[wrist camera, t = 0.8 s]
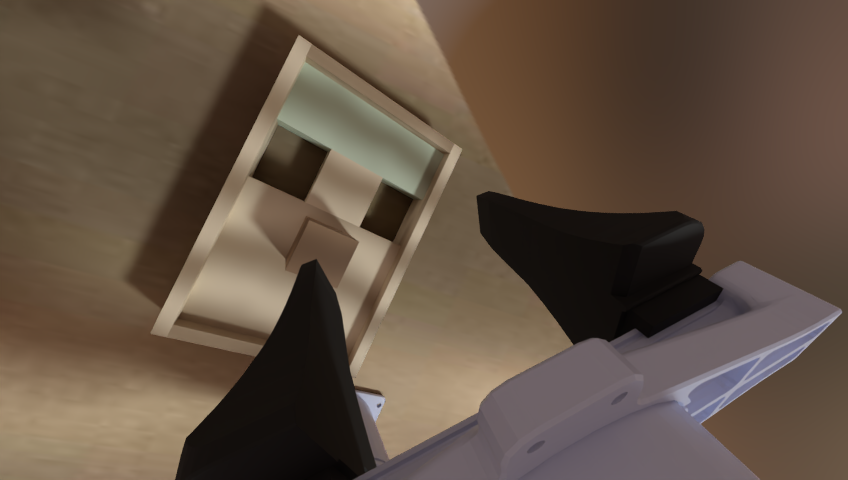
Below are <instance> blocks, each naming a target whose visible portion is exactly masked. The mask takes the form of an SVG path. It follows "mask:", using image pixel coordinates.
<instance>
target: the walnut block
mask: <svg viewBox="0 0 848 480" xmlns="http://www.w3.org/2000/svg"><path fill="white" fill-rule="evenodd" d="M358 244H359V241H357V240H356V239H355V238H353V237H352V236H351V235H349V234H347V233H344V232H342V231H340V230H338V229H335V228H333V227H331V226H328V225H326V224H324V223H322V222H319V221H317V220H315V219H313V218H310V217H308V216H306V217H305V219H304V221H303V223H302V225H301V227H300V230H299V232H298V234H297V236H296V238H295V240H294V242H293V244H292V246H291V248H290V250H289V252H288V254H287V256H286V258H285V271H288V272H291V273H294V274H297V275H298V272H299V269H300V267H301V265H302V264H305V263H307V262H310V261H312V260H315V259H317V260H318V262H319V264H320V266H321V267H322V269H323V271H324V273H325V275H326V276H327V278H328V280H329V282H330V284H331V285H332V287H334V288H338V286H339V283H340V281H341V279H342V277H343V275H344V273H345V271H346V269H347V267H348V265H349V262H350V260H351V258H352V256H353V254H354V252H355V250H356V248H357V246H358Z"/></svg>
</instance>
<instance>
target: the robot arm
mask: <svg viewBox="0 0 848 480" xmlns="http://www.w3.org/2000/svg"><path fill="white" fill-rule="evenodd" d="M477 205H478V214H479V224H480V233H481V234H482V236H483V237H484V238H485V240H486V241H487V243H488V244H489V245H490V246H491V248H492V249H493V250H494V251H495V252H496V253H497V254H498V255H499V256H500V257H501V258H502V259H503V260H504V261H505V262H506V263H507V264H508V265H509V266H510V267H511V268H512V269H513V270H514V271H515V272H516V273H517V274H518V275H519V276H520V277H521V278H522V279H523V280H524V281H525V282H526V283H527V284H528V285H529V286H530V287H531V289H532V290H533V291H534V292H535V294H536V295H537V296H538V297H539V299H540V300H541V301H542V302H543V304H544V305H545V306H546V307H547V309H548V310H549V311H550V313H551V314H552V315H553V317H554V318H555V319H556V321H557V322H558V323H559V325H560V326H561V328H562V329H563V330H564V332H565V333H566V335H567V336H568V337H569V339H570V340H571V342H572V343H573V346H571V347H569V348H567V349H566V350H564V351H562V352H560V353H558V354H556V355H554V356H552V357H550V358H548V359H546V360H545V361H543V362H541V363H539V364H537V365H535V366H533V367H531V368H529V369H527V370H525V371H524V372H522V373H520V374H518V375H516V376H514V377H512V378H510V379H508V380H506V381H505V382H504V383H502V384H501V385H499V386H498V387H496V388H495V389H493V390H492V391H491V392H490V393H489V394H488V395H487V396H486V398H485V399H484V400H483V401H482V402H481V404H480V408H479V412H478V413H476V414H475V415H473V416H471V417H469V418H467V419H465V420H463V421H461V422H460V423H458V424H456V425H454V426H452V427H450V428H448V429H447V430H445V431H443V432H441V433H439V434H437V435H435V436H433V437H432V438H430V439H428V440H426V441H424V442H422V443H420V444H419V445H417V446H415V447H413V448H411V449H409V450H407V451H405V452H404V453H402V454H400V455H398V456H396V457H394V458H392V459H391V460H389V458H388V455H387V452H386V450H385V447H384V444H383V442H382V439H381V437H380V434H379V431H378V429H377V426H376V423H375V422H376V420H377V417H378V415H379V413H380V411H381V409H382V407H383V404H384V402H385V398H384V396H383V395H379V394H374V393H369V392H364V391H359V390H355V388H354V384H353V380H352V376H351V372H350V367H349V361H348V354H347V347H346V340H345V332H344V325H343V319H342V313H341V309H340V305H339V302H338V299H337V295H336V292H335V291H334V289H333V287H332V285H331V284H330V282H329V280H328V278H327V276H326V275H325V273H324V271H323V269H322V267H321V266H320V264H319V262H318V260H317V259H315V260H312V261H310V262H307V263H305V264H302V265H301V267H300V269H299V272H298V275H297V277H296V280H295V283H294V285H293V288H292V291H291V293H290V295H289V298H288V300H287V302H286V305H285V307H284V309H283V311H282V313H281V315H280V317H279V319H278V321H277V323H276V325H275V327H274V329H273V331H272V333H271V334H270V336H269V338H268V339H267V341H266V343H265V344H264V346H263V347H262V349H261V350H260V352H259V353H258V355H257V356H256V357H255V359H254V360H253V362H252V363H251V364H250V366H249V367H248V369H247V370H246V371H245V373H244V374H243V375H242V377H241V378H240V379H239V380H238V382H237V383H236V384H235V385H234V387H233V388H232V389H231V390H230V391H229V392H228V394H227V395H226V396H225V397H224V398H223V400H222V401H221V402H220V403H219V404H218V405H217V406H216V407H215V408H214V410H213V411H212V412H211V413H210V414H209V415H208V416H207V417H206V418H205V419H204V420H203V421H202V422H201V423H200V424H199V425H198V426H197V428H196V429H195V430H194V431H193V432H192V433H191V434H190V435H189V436H188V437H187V438H186V440H185V443H184V447H183V450H182V454H181V458H180V462H179V466H178V470H177V474H176V479H175V480H760V479H759V478H758V477H757V476H756V475H755V474H754V473H753V472H752V471H751V470H749V469H748V468H747V467H746V466H745V465H744V464H743V463H742V462H741V461H740V460H739V459H737V458H736V457H735V456H734V455H733V454H732V453H731V452H730V451H729V450H728V449H727V448H725V446H723V445H722V444H721V443H720V442H719V441H718V440H717V439H716V438H715V437H714V436H713V435H712V434H710V433H709V432H708V431H707V430H706V429H705V428H704V427H703V426H702V425H701V423H702V422H704V421H705V420H706V419H708V418H709V417H711V416H712V415H713V414H715V413H716V412H718V411H719V410H720V409H722V408H723V407H725V406H726V405H728V404H729V403H730V402H732V401H733V400H734V399H736V398H737V397H739V396H740V395H742V394H743V393H744V392H746V391H747V390H749V389H750V388H752V387H753V386H755V385H756V384H758V383H759V382H760V381H762V380H763V379H765V378H766V377H768V376H769V375H771V374H772V373H774V372H775V371H777V370H779V369H780V368H782V367H783V366H785V365H786V364H788V363H789V362H791V361H792V360H794V359H795V358H796V357H797V356H798V355H799V354H800V353H801V352H802V351H803V350H804V349H805V348H806V347H808V345H809V344H811V342H813V341H814V340H815V339H816V338H817V337H818V336H819V335H820V334H821V333H822V332H823V331H824V330H825V329H826V328H827V327H828V326H829V325H830V324H831V323H832V322H833V321H834V320H835V319H836V318H837V317H838V316H839V315H840V314H841V313H842V311H841V309H840V308H838V307H836V306H834V305H831V304H830V303H828V302H826V301H823V300H821V299H819V298H817V297H815V296H813V295H811V294H809V293H807V292H805V291H803V290H801V289H799V288H797V287H794V286H792V285H790V284H788V283H786V282H784V281H782V280H780V279H778V278H776V277H774V276H772V275H770V274H768V273H766V272H764V271H762V270H759V269H757V268H755V267H753V266H751V265H749V264H747V263H745V262H743V261H738V262H736V263H734V264H732V265H730V266H728V267H726V268H724V269H722V270H720V271H718V272H717V273H716V274H714V275H713V276H712V277H711V278H710V279H709V280H708V279H706V278H704V277H703V276H701V275H699V274H700V273H701V272H702V270H701V268H700V267H698V266H696V265H694V264H692V262H693V259H694V257H695V255H696V253H697V251H698V249H699V247H700V244H701V242H702V239H703V236H704V227H703V224H702V223H701V222H699V221H698V220H695V219H693V218H691V217H689V216H686V215H684V214H682V213H680V212H677V211H669V212H653V213H599V212H586V211H577V210H569V209H562V208H556V207H551V206H547V205H542V204H538V203H533V202H529V201H525V200H521V199H518V198H514V197H511V196H507V195H503V194H499V193H495V192H490V191H488V192H485V193H483V194H480V195H478V196H477ZM379 403H380V404H379ZM377 404H379V405H377Z"/></svg>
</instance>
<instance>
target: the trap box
mask: <svg viewBox="0 0 848 480" xmlns="http://www.w3.org/2000/svg"><path fill="white" fill-rule="evenodd" d="M277 125H280V126H281V127H283V128H285V129H287V130H289V131H290V132H292V133H294V134H296V135H298V136H299V137H301V138H303V139H305V140H307V141H309V142H310V143H312V144H314V145H316V146H318V147H319V148H321V149H323V150H325V151H327V152H328V153H327V155H326V157H325V159H324V161H323V163H322V165H321V167H320V169H319V171H318V173H317V175H316V178H315V180H314V182H313V184H312V186H311V188H310V190H309V192H308V194H307V196H306V198H305V200H304V201H303V200H300V199H298V198H296V197H294V196H292V195H289V194H287V193H285V192H283V191H281V190H279V189H276V188H274V187H272V186H270V185H268V184H266V183H263V182H261V181H259V180H257V179H255V178H253V177H252V176H253V174H254V172H255V170H256V168H257V166H258V164H259V162H260V160H261V158H262V156H263V154H264V152H265V150H266V148H267V146H268V144H269V142H270V140H271V138H272V136H273V134H274V131H275V129H276V127H277ZM461 151H462V149H461V148H460V147H458V146H457V145H456V144H454V143H453V142H451V141H450V140H448V139H447V138H445V137H444V136H443V135H441V134H440V133H438V132H437V131H435V130H434V129H433V128H431V127H430V126H428V125H427V124H425V123H424V122H423V121H421V120H420V119H418V118H417V117H415V116H414V115H413V114H411V113H410V112H408V111H407V110H405V109H404V108H403V107H401V106H400V105H398V104H397V103H395V102H394V101H393V100H391V99H390V98H388V97H387V96H385V95H384V94H383V93H381V92H380V91H378V90H377V89H375V88H374V87H373V86H371V85H370V84H368V83H367V82H365V81H364V80H363V79H361V78H360V77H358V76H357V75H355V74H354V73H353V72H351V71H350V70H348V69H347V68H345V67H344V66H343V65H341V64H340V63H338V62H337V61H335V60H334V59H333V58H331V57H330V56H328V55H327V54H325V53H324V52H323V51H321V50H320V49H318V48H317V47H315V46H314V45H313V44H311V43H310V42H308V41H307V40H305V39H304V38H303V37H301V36H300V35H299V36H298V38H297V40H296V42H295V44H294V46H293V48H292V50H291V52H290V54H289V56H288V58H287V60H286V62H285V64H284V66H283V68H282V70H281V72H280V74H279V76H278V78H277V80H276V82H275V84H274V86H273V88H272V90H271V92H270V94H269V96H268V98H267V100H266V102H265V104H264V106H263V108H262V110H261V112H260V114H259V116H258V118H257V120H256V122H255V124H254V126H253V128H252V130H251V132H250V134H249V136H248V138H247V140H246V142H245V144H244V146H243V148H242V150H241V152H240V154H239V156H238V158H237V160H236V162H235V164H234V166H233V168H232V170H231V172H230V174H229V176H228V178H227V180H226V182H225V184H224V186H223V188H222V190H221V192H220V194H219V196H218V198H217V200H216V202H215V204H214V206H213V208H212V210H211V212H210V214H209V216H208V218H207V220H206V222H205V224H204V226H203V228H202V230H201V232H200V234H199V236H198V238H197V240H196V242H195V244H194V246H193V248H192V250H191V252H190V254H189V256H188V258H187V260H186V262H185V264H184V266H183V268H182V270H181V272H180V274H179V276H178V278H177V280H176V282H175V284H174V286H173V288H172V290H171V292H170V294H169V296H168V298H167V300H166V302H165V304H164V306H163V308H162V310H161V312H160V314H159V316H158V319H157V321H156V323H155V325H154V327H153V329H152V331H151V333H150V334H153V335H158V336H163V337H167V338H172V339H176V340H181V341H186V342H190V343H195V344H200V345H204V346H209V347H213V348H218V349H223V350H227V351H232V352H237V353H241V354H246V355H250V356H255V357H256V356H257V355H258V353H259V352H260V350H261V349H262V347H263V346H264V344H265V343H266V341H267V339H268V338H269V336H270V334H271V333H272V331H273V329H274V327H275V325H276V323H277V321H278V319H279V317H280V315H281V313H282V311H283V309H284V307H285V305H286V302H287V300H288V298H289V295H290V293H291V291H292V288H293V285H294V283H295V280H296V277H297V274H294V273H291V272H288V271H285V258H286V256H287V254H288V252H289V250H290V248H291V246H292V244H293V242H294V240H295V238H296V236H297V234H298V232H299V230H300V227H301V225H302V223H303V221H304V219H305V217H306V216H308V217H310V218H313V219H315V220H317V221H319V222H322V223H324V224H326V225H328V226H331V227H333V228H335V229H338V230H340V231H342V232H344V233H347V234H349V235H351V236H352V237H353V238H355V239H356V240H357V241H359V244H358V246H357V248H356V250H355V252H354V254H353V256H352V258H351V260H350V262H349V265H348V267H347V269H346V271H345V273H344V275H343V277H342V279H341V281H340V283H339V286H338V288H334V287H333V289H334V291H335V292H336V295H337V299H338V302H339V305H340V309H341V313H342V319H343V325H344V332H345V340H346V347H347V354H348V361H349V367H350V372H351V376H352V378H356V376H357V373H358V371H359V369H360V367H361V365H362V363H363V361H364V358H365V356H366V354H367V352H368V350H369V348H370V346H371V343H372V341H373V339H374V337H375V335H376V333H377V331H378V329H379V326H380V324H381V322H382V320H383V318H384V316H385V314H386V311H387V309H388V307H389V305H390V303H391V301H392V299H393V296H394V294H395V292H396V290H397V288H398V286H399V284H400V282H401V279H402V277H403V275H404V273H405V271H406V269H407V267H408V264H409V262H410V260H411V258H412V256H413V254H414V252H415V249H416V247H417V245H418V243H419V241H420V239H421V237H422V234H423V232H424V230H425V228H426V226H427V224H428V222H429V220H430V217H431V215H432V213H433V211H434V209H435V207H436V205H437V202H438V200H439V198H440V196H441V194H442V192H443V190H444V187H445V185H446V183H447V181H448V179H449V177H450V175H451V173H452V170H453V168H454V166H455V164H456V162H457V160H458V158H459V155H460V153H461ZM381 182H383V183H385V184H386V185H388V186H390V187H392V188H394V189H396V190H397V191H399V192H401V193H403V194H405V195H406V196H408V197H410V198H412V199H413V200H412V203H411V205H410V207H409V209H408V211H407V213H406V215H405V217H404V219H403V222H402V224H401V226H400V228H399V230H398V232H397V234H396V236H395V239H394V241H393V242H392V241H389V240H387V239H385V238H383V237H381V236H379V235H376V234H374V233H372V232H370V231H368V230H366V229H363V228H361V227H360V225H361V223H362V221H363V218H364V216H365V214H366V212H367V210H368V208H369V206H370V204H371V202H372V200H373V197H374V195H375V193H376V191H377V189H378V187H379V185H380V183H381Z"/></svg>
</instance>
